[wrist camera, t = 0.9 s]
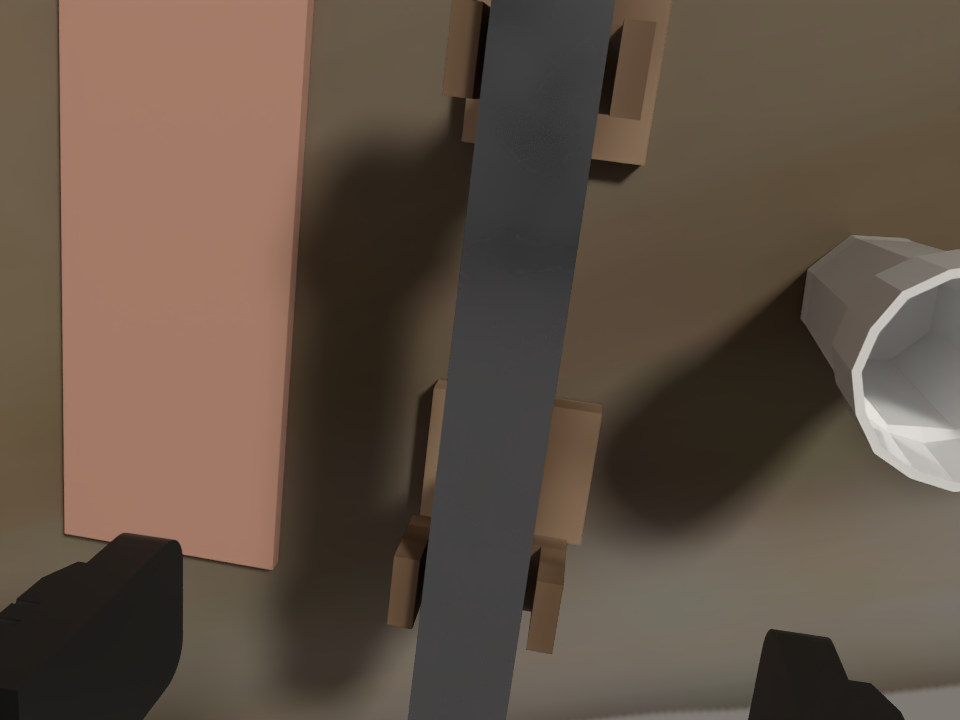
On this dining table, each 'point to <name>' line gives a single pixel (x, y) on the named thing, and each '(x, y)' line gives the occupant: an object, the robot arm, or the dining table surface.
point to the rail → (506, 345)
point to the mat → (180, 266)
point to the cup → (894, 348)
